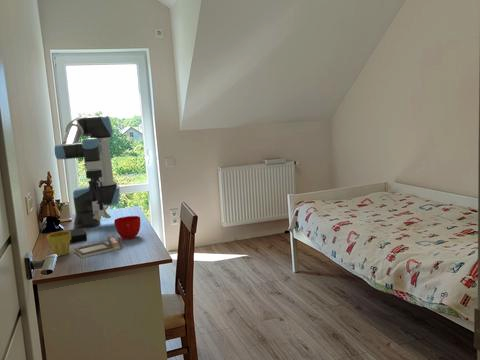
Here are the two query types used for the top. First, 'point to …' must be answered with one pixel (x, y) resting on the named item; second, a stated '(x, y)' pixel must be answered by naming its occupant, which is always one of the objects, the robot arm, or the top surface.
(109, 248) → the seating jig
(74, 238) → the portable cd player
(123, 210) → the top surface
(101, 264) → the top surface
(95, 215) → the toy table
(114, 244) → the bar
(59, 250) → the plant pot
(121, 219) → the ceramic cup
